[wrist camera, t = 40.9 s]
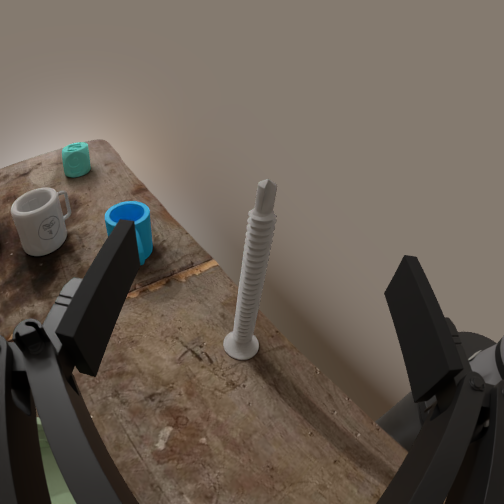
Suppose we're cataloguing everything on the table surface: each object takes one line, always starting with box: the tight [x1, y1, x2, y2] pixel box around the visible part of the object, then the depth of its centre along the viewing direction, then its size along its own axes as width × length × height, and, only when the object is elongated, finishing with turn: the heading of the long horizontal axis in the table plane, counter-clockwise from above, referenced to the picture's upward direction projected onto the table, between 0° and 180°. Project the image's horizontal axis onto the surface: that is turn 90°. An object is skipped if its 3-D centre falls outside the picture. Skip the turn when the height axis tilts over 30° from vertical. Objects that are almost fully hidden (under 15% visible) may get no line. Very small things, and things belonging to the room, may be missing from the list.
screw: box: [224, 179, 277, 360], centre depth 35 cm, size 5×26×5 cm
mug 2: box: [105, 201, 153, 265], centre depth 52 cm, size 12×8×8 cm
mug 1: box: [11, 188, 71, 256], centre depth 52 cm, size 14×11×10 cm
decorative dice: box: [62, 142, 91, 178], centre depth 76 cm, size 8×8×8 cm
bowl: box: [37, 417, 76, 504], centre depth 19 cm, size 17×17×7 cm
